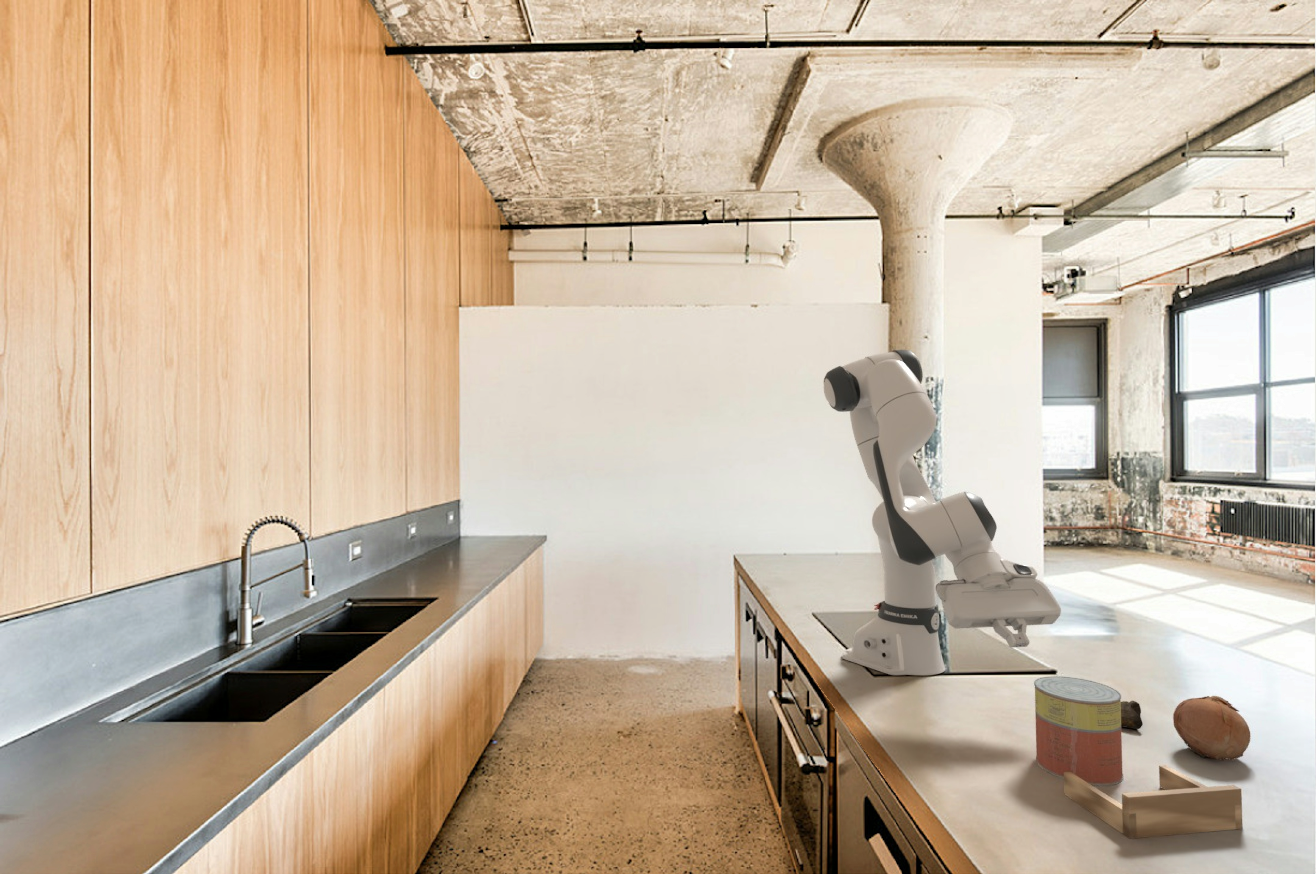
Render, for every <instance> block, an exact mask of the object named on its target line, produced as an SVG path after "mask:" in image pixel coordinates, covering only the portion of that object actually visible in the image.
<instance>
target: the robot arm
mask: <svg viewBox="0 0 1316 874" xmlns="http://www.w3.org/2000/svg"><path fill="white" fill-rule="evenodd" d="M923 375H924V374H923V369H922V365H921V362H920V360H919V358H918V356H917V355H916V354H915V353H914V352H912V351H911V350H909V349H893V350H892V351H890V352H883V353H878V354H873V355H868V356H865V357H864V358H861V359H858V360H855V361H852V362H850V363H847V364H844V365H839V366H837V367H834V368H832V369H831V370H829V371H827V372H826V374H825V376H824V378H823V393H824V397H825V399H826V401H827V402H828V404H829V406H830V407H831V408H832V409H833V410H835V411H836V412H843V413H844V412H846V413H847V412H849V415H850V422H851V428H852V429H851V430H852V433H853V436H854V440H855V444H856V446H857V450H858V452H859V455H860V459H861V460H862V463H863V467H864V470H865V473H866V475H867V478H868V479H869V480H870V482H871V483H872V484H873V485H874V487H875V489H876V490H877V492H878V493H879V495H880V497H881V498H882V502H881V503H880V504H879V505H878V506H877V507H876V508H875V510H874V512H873V514H872V518H871V519H872V520H871V522H872V523H871V524H872V528H873V531H874V533H875V534H876V536H877V538H878V544H879V549H880V554H881V559H882V563H883V564H882V565H883V573H884V574H883V578H884V579H883V580H884V581H883V582H884V587H883V588H884V600H883V601H881V602H878V604H874V605H873V606H874V610H873V611H878V613H877V616H876V617H874V618H873V619H871V620H870V621H869V622H867V623H866V624H864V625H862V626H861V627H860V628H858V629H856V632H855V633H854V636H853V639H852V640H853V641H852V646H851V647H849V648H847V649H845V650H844V651H843V653H842V659H844V660H846V661H849V662H852V663H855V664H858V665H860V666H864V667H866V668H869V669H872V670H876V671H878V672H881V673H883V674H884V673H885V674H888V675H890V676H906V675H909V676H934V675H938V674H941V673H944V672H945V671H946V670H947V669H946V665H945V663H944V660H943V656H942V651H941V646H940V639H939V632H938V631H939V629H940V628H939V627H940V616H939V611H940V610H939V605H938V604H937V597H938V598H939V599H940V600H941V604H942V605H941V606H942V608H943V609H942V610H943V611H944V615H945V618H946V620H947V623H948V624H949V625H950V626H951V627H952V628H954V629H955V630H956V629H975V628H978V629H979V628H992V629H993V631H994V632H995V633H996V634H997V635H998V636H1000V637H1001V638H1002V639H1004V640H1006V644H1007V645H1008V647H1010V648H1026V647H1028V646H1029V645H1030V639H1029V638H1028V636H1027V626H1040V625H1041V626H1042V625H1045V626H1046V625H1053V624H1055V623H1056V621H1057V620H1058V619H1059V618H1060V616H1061V614H1062V608H1061V606H1060V604H1059V603H1058V601H1057V599H1056V597H1055V596H1054V595H1053V592H1052V591H1051V590H1050V589H1049V588H1048V586H1047V585H1046V584H1045V583H1044V582H1043V581H1041V580H1040V579H1038V578H1037V576H1038V572H1037V570H1036V569H1035V568H1034V567H1033V566H1030V565H1025V564H1022V563H1017V562H1013V561H1011V560H1008V559H1004V558H1002V557H1001V555H1000V554H999V553H998V552H997V551H996V550H995V549H994V547H993V545H992V544H993V543H992V542H993V541H994V538H995V535H996V531H997V523H996V521H995V519H994V517H993V516H992V514H991V513H990V511H989V509H988V508H987V506H986V504H985V503H984V500H983V498H982V497H980V496H978V495H976V494H973V493H971V492H969V491H961V492H958V493H954V494H952V495H949V496H946V497H944V498H941V499H939V500H938V501H937V500H936V499H935V496H934V495H933V492H932V491H931V489H930V487H929V485H928V483H927V481H926V479H925V478H924V476H923V474H922V473H921V470H920V469H919V467H918V464H917V463H916V461H915V458H914V454H915V453H916V452H918V451H919V450H920V449H922V447H924V445H926V444H927V443H928V442H929V440H930V438H931V437H932V435H933V434H934V431H935V429H936V426H937V420H938V419H937V418H938V417H937V414H936V412H935V411H936V410H935V409H934V406H933V403H932V401H931V399H930V397H929V396H928V394H927V392H926V390H925V388H924V387H923V385H922V382H923ZM943 555H945V558H946V559H947V560H948V561H949V562H950V563H951V565H952V567H953V573H954V575H955V577H956V579H952V580H947V579H944V580H943V579H942V580H940V581H939V583H937V575H936V574H937V573H936V572H937V571H936V568H935V566H934V563H933V560H935V559H936V558H937V557H941V556H943ZM1008 627H1012V628H1013V631H1017V633H1013V632H1012V631H1011V630H1010V629H1009V628H1008Z"/></svg>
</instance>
